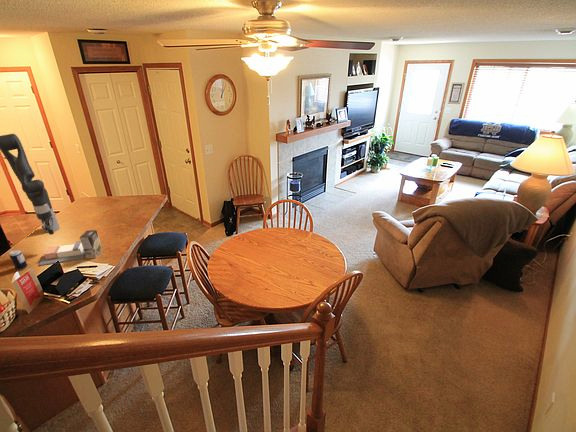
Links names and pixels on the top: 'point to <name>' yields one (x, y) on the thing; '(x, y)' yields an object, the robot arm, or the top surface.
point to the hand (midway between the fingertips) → (51, 234)
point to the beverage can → (18, 259)
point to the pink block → (51, 252)
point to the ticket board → (64, 259)
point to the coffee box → (91, 244)
